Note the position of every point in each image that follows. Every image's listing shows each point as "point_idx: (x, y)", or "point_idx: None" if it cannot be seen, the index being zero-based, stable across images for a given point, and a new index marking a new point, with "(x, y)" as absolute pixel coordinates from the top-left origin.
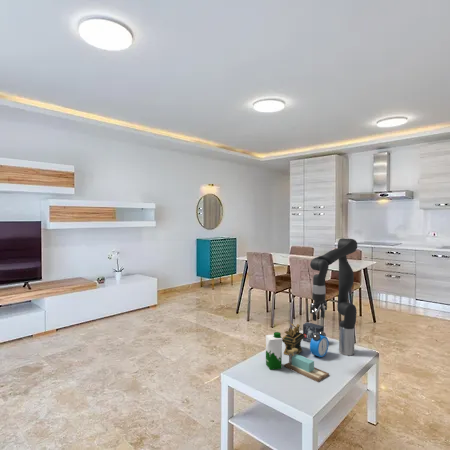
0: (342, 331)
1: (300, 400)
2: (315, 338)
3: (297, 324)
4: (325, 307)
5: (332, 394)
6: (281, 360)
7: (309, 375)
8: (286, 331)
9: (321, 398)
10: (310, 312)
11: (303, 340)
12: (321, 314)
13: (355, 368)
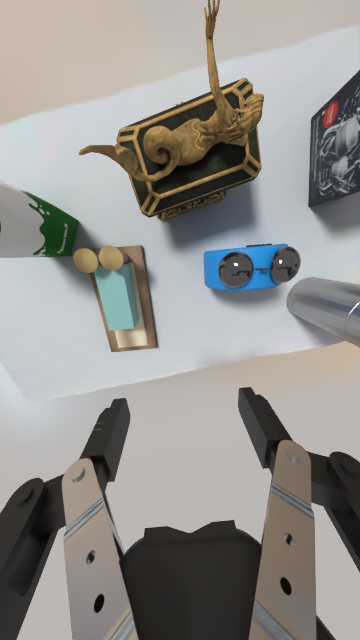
0: (351, 321)
1: (34, 371)
2: (219, 277)
3: (251, 101)
4: (342, 535)
5: (105, 387)
6: (60, 251)
7: (108, 330)
8: (102, 147)
9: (77, 384)
10: (10, 505)
11: (311, 121)
12: (249, 414)
13: (233, 357)
